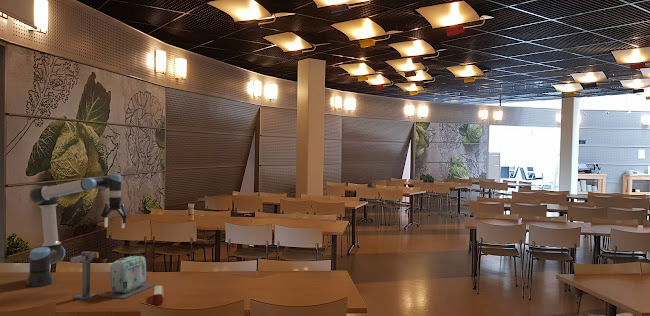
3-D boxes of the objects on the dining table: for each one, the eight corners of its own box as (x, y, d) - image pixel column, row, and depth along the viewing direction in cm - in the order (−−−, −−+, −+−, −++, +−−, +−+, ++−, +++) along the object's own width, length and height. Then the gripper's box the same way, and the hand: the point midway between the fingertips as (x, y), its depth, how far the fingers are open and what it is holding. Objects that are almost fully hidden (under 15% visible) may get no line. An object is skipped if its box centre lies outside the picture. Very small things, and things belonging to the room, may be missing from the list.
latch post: (72, 298, 287) (73, 252, 287) (84, 294, 296) (85, 249, 296) (86, 300, 284) (87, 254, 284) (98, 295, 294) (99, 250, 294)
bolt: (68, 263, 280) (68, 257, 280) (90, 256, 298) (90, 251, 298) (77, 263, 279) (77, 258, 279) (98, 257, 296) (98, 252, 296)
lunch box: (123, 296, 292) (123, 261, 292) (108, 294, 294) (108, 260, 294) (148, 285, 318) (148, 252, 318) (134, 283, 320) (134, 251, 320)
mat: (101, 296, 292) (101, 295, 292) (134, 283, 323) (134, 282, 323) (124, 298, 289) (124, 297, 289) (155, 285, 320) (155, 284, 320)
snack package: (152, 295, 297) (153, 284, 297) (164, 294, 299) (164, 284, 299) (151, 305, 277) (151, 294, 277) (163, 305, 279) (163, 293, 279)
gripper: (95, 196, 329) (95, 227, 329) (127, 197, 323) (126, 229, 323) (103, 195, 336) (102, 225, 336) (134, 197, 330) (133, 227, 330)
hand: (114, 227), depth 330 cm, fingers open, 13 cm apart
